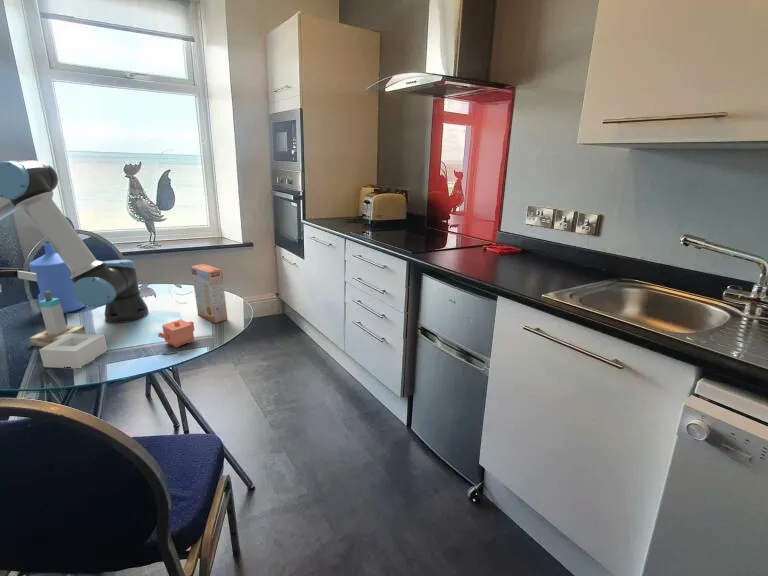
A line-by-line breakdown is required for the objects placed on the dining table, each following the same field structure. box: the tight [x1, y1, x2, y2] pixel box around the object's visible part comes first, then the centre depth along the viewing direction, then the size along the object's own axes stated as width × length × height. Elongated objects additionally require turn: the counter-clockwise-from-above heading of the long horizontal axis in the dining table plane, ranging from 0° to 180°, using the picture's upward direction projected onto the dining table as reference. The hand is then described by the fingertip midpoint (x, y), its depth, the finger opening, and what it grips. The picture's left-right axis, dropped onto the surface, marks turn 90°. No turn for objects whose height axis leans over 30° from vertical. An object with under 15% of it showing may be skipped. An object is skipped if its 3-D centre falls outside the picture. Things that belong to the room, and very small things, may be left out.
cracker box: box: [190, 263, 228, 324], centre depth 166 cm, size 14×6×21 cm, turn 48°
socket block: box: [38, 333, 108, 369], centre depth 135 cm, size 12×12×6 cm
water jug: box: [28, 242, 86, 314], centre depth 174 cm, size 16×16×28 cm
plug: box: [38, 291, 68, 336], centre depth 147 cm, size 4×4×18 cm
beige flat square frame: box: [29, 324, 87, 347], centre depth 149 cm, size 11×11×3 cm
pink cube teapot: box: [157, 318, 196, 348], centre depth 145 cm, size 8×12×8 cm, turn 141°
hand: (19, 282), depth 144 cm, fingers open, 13 cm apart
